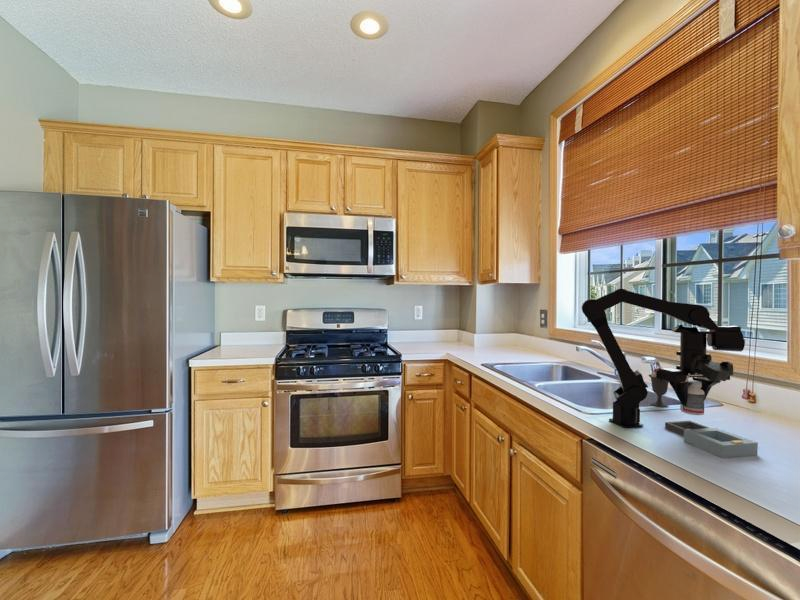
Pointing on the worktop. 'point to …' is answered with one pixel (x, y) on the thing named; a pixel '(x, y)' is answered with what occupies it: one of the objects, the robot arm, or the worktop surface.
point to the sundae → (658, 388)
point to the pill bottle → (694, 399)
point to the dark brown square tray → (682, 426)
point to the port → (721, 442)
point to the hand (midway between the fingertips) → (692, 404)
